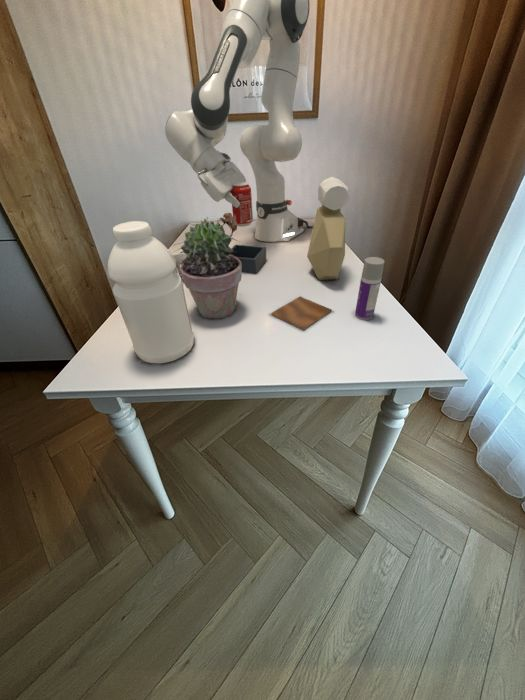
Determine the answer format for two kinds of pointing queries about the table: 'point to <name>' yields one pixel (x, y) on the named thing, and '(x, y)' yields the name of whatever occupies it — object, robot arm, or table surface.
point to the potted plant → (211, 267)
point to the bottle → (149, 294)
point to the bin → (250, 257)
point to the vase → (329, 230)
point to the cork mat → (301, 312)
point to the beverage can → (242, 204)
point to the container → (369, 287)
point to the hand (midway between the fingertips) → (243, 202)
